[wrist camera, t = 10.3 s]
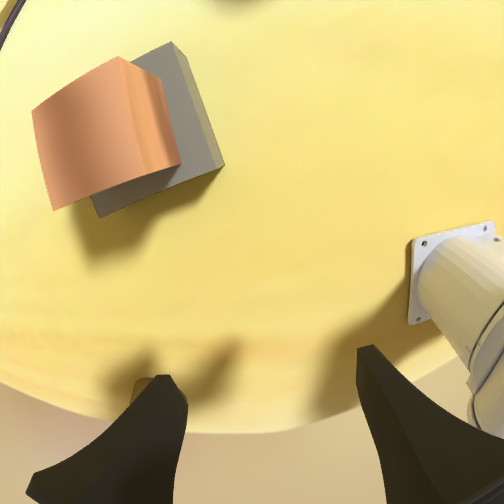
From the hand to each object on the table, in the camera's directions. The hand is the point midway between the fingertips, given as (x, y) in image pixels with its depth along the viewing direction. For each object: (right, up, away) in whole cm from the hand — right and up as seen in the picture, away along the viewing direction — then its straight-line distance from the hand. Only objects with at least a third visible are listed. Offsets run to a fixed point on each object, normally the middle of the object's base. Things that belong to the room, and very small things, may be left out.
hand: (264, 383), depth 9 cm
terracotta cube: (-7, +11, +4) cm, 14 cm away
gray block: (-7, +13, +7) cm, 16 cm away
